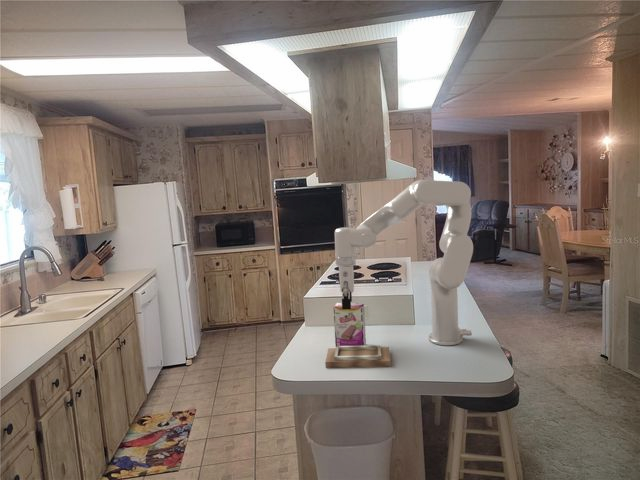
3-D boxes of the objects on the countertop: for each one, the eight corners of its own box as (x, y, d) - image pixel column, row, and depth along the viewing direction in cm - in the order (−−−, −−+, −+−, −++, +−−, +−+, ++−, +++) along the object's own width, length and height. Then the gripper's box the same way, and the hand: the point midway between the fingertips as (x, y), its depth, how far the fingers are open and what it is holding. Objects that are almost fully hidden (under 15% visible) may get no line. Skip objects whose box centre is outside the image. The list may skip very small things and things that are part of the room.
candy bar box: (335, 347, 164) (332, 306, 162) (338, 343, 169) (335, 302, 167) (364, 349, 161) (362, 306, 159) (366, 344, 166) (364, 302, 164)
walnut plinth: (388, 352, 157) (388, 343, 156) (390, 366, 145) (390, 357, 145) (328, 353, 159) (328, 345, 159) (325, 367, 147) (325, 358, 147)
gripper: (355, 265, 152) (356, 312, 154) (356, 256, 169) (357, 299, 171) (333, 265, 153) (335, 312, 155) (337, 257, 170) (338, 299, 172)
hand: (347, 305), depth 163 cm, fingers open, 9 cm apart
